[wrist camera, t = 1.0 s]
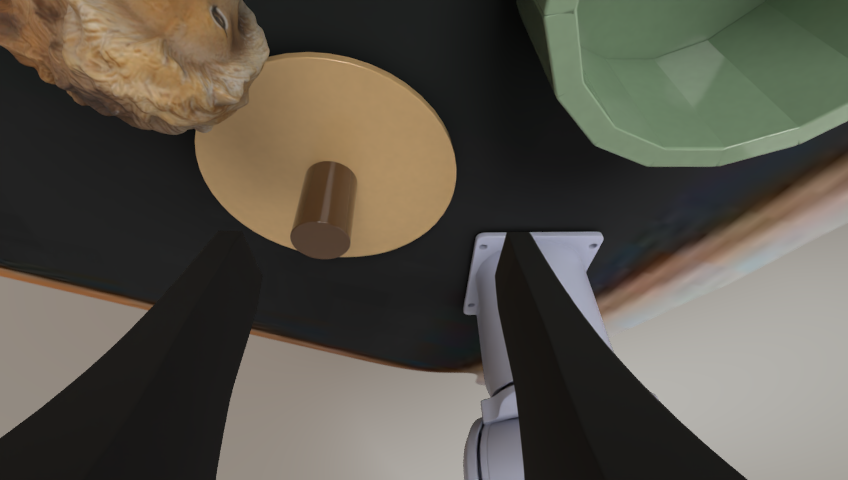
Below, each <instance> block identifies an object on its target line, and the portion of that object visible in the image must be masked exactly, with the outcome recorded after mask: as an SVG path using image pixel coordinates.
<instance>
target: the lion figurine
mask: <svg viewBox="0 0 848 480" xmlns="http://www.w3.org/2000/svg"><path fill="white" fill-rule="evenodd" d="M0 45H1V46H3V47H4V48H6V49H7V50H9V51H10V52H11V53H12V54H13V55H14V57H15V58H16V59H17V60H18V61H19V62H20V63H22V64H24V65H26V66H31V67H34V68H35V69H36V70H37V71H38V73H39V76H40V78H41V79H42V80H43V81H45V82H47V83H51V84H56V85H57V86H58V87H59V88H61V89H63V90H66V91H67V93H68V94H69V95H70V96H72V97H73V99H74V101H75V102H77V103H78V104H80V105H82V106H83V105H90V106H91V107H92V108H93V109H95V110H96V111H97V112H99V113H100V114H102V115H105V116H113V115H114V116H116V117H118V118H120V119H122V120H123V121H125V122H127V123H128V124H130V125H131V126H134V127H137V128H140V129H144V130H154V131H157V132H160V133H165V134H170V135H178V134H181V133H184V132H185V131H187V130H188V129H195V130H197V131H199V132H201V133H208V132H209V131H211V130H212V128H213V126H214V125H217V124H219V123H221V122H222V121H224V120H225V119H227V118H229V117H230V116H232V115H233V114H234V113H236V111H237V110H238V109H240V108H242V107H244V106H245V105H247V104H248V103H249V88H250V86H251V84H252V83H253V81H254V80H255V79H256V78H257V77H258V76H259V74H260V73H261V71H262V69H263V67H264V64H265V62H266V60H267V59H268V57H269V52H270V50H269V48H268V45H267V41H266V38H265V35H264V32H263V30H262V28H261V27H260V26H259V25H257V22H256V17H255V15H254V14H253V12H252V11H251V10H250V9H249V8H248V7H247V6H246V5H245V3H244V2H243V0H0Z"/></svg>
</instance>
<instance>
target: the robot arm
mask: <svg viewBox="0 0 848 480" xmlns="http://www.w3.org/2000/svg"><path fill="white" fill-rule="evenodd" d="M603 239H604V238H603V236H602V234H601V233H600V232H484V233H480V234H478V235H477V236H476V238H475V244H474V249H473V255H472V261H471V267H470V272H469V278H468V284H467V289H466V295H465V301H464V306H463V311H464V313H465V314H467V315H477V323H478V331H479V339H480V347H481V355H482V363H483V371H484V379H485V384H486V388H487V390H488V393H489V395H490V396H491V398H488V399H485V400H482V401H481V409H482V418H479V419H477V420H476V421H475V422H474V423H473V425H472V427H471V429H470V432H469V435H468V438H467V441H466V444H465V449H464V460H463V461H464V462H463V463H464V464H463V467H464V479H465V480H747V479H746V478H745V477H744V476H742V475H741V474H740V473H739V472H738V471H736V470H735V469H734V468H733V467H732V466H730V465H729V464H728V463H727V462H725V461H724V460H723V459H722V458H721V457H720V456H718V455H717V454H716V453H715V452H714V451H712V450H711V449H710V448H709V447H708V446H707V445H706V444H704V443H703V442H702V441H701V440H700V439H699V438H698V437H697V436H696V435H695V434H693V433H692V432H691V431H690V430H689V429H688V428H687V427H686V426H684V425H683V424H682V423H681V422H680V421H679V420H678V419H677V418H676V417H675V416H674V415H673V414H672V413H671V412H670V411H669V410H668V409H667V408H666V407H665V406H664V405H663V404H662V403H661V402H660V401H659V400H658V398H657V396H656V395H655V394H653V393H651V392H650V391H649V390H648V389H646V388H645V387H644V386H643V385H642V383H641V382H640V381H639V380H638V379H637V378H636V377H635V376H634V375H633V374H632V373H631V372H630V371H629V369H628V368H627V367H626V366H625V365H624V364H623V363H622V362H621V361H620V360H619V358H618V357H617V356H616V355H615V354H614V352H613V349H612V346H611V343H610V341H609V338H608V335H607V332H606V329H605V326H604V323H603V320H602V317H601V315H600V312H599V309H598V306H597V303H596V300H595V297H594V294H593V291H592V289H591V286H590V283H589V280H588V277H587V274H586V271H587V269H588V267H589V265H590V263H591V262H592V260H593V258H594V256H595V254H596V253H597V251H598V249H599V247H600V245H601V243H602V242H603ZM483 244H484V245H483ZM261 281H262V274H261V272H260V270H259V267H258V265H257V263H256V261H255V259H254V257H253V255H252V252H251V250H250V248H249V246H248V244H247V242H246V240H245V237H244V235H243V233H242V231H218V232H217V233H216V234H215V235H214V237H213V238H212V239H211V240H210V241H209V242H208V244H207V245H206V246H205V247H204V248H203V250H202V251H201V252H200V253H199V254H198V255H197V257H196V258H195V259H194V260H193V261H192V263H191V264H190V265H189V266H188V267H187V268H186V270H185V271H184V272H183V273H182V274H181V275H180V277H179V278H178V279H177V280H176V281H175V282H174V283H173V285H172V286H171V287H170V288H169V289H168V290H167V291H166V292H165V294H164V295H163V296H162V297H161V298H160V299H159V300H158V301H157V302H156V303H155V305H154V306H153V307H152V308H151V309H150V310H149V311H148V312H147V313H146V314H145V315H144V316H143V317H142V318H141V319H140V320H139V321H138V322H137V323H136V324H135V325H134V326H133V327H132V329H130V331H128V332H127V333H126V334H125V335H124V336H123V337H122V338H121V339H120V340H119V341H118V342H117V343H116V344H115V345H114V346H113V347H112V348H111V349H110V350H109V351H108V352H107V353H106V354H104V355H103V356H102V357H101V358H100V359H99V360H98V361H97V362H95V363H94V364H93V365H92V366H91V367H90V368H89V369H88V370H86V371H85V372H84V373H83V374H82V375H81V376H79V377H78V378H77V379H76V380H75V381H73V382H72V383H71V384H70V385H69V386H67V387H66V388H65V389H64V390H63V391H61V392H60V393H59V394H58V395H56V396H55V397H54V398H53V399H51V400H50V401H49V402H48V403H46V404H45V405H44V406H43V407H42V408H40V409H39V410H38V411H36V412H35V413H34V414H32V415H31V416H30V417H28V418H27V419H26V420H24V421H23V422H22V423H20V424H19V425H18V426H16V427H15V428H14V429H12V430H11V431H10V432H8V433H7V434H5V435H4V436H3V437H1V438H0V480H216V474H217V467H218V461H219V456H220V450H221V444H222V438H223V433H224V427H225V422H226V417H227V412H228V407H229V402H230V398H231V394H232V389H233V386H234V383H235V379H236V376H237V373H238V369H239V366H240V363H241V360H242V357H243V353H244V350H245V347H246V343H247V340H248V337H249V334H250V331H251V327H252V324H253V321H254V317H255V314H256V310H257V305H258V300H259V294H260V288H261Z"/></svg>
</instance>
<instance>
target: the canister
mask: <svg viewBox="0 0 848 480" xmlns="http://www.w3.org/2000/svg"><path fill="white" fill-rule="evenodd" d="M516 2H517V7H518V11H519V14H520V16H521V18H522V21H523V23H524V25H525V28H526V30H527V32H528V34H529V37H530V39H531V41H532V44H533V46H534V48H535V50H536V53H537V55H538V57H539V60H540V62H541V64H542V66H543V69H544V71H545V73H546V76H547V78H548V80H549V83H550V85H551V87H552V89H553V92H554V94H555V96H556V99H557V100H558V101H559V102H560V104H561V105H562V106H563V107H564V109H565V110H566V111H567V112H568V114H569V115H570V116H571V118H572V119H573V120H574V121H575V123H576V124H577V125H578V126H579V128H580V129H581V130H582V131H583V133H584V134H585V135H586V136H587V138H588V139H589V140H590V142H591V143H592V144H594V146H596V147H599V148H601V149H604V150H606V151H609V152H611V153H614V154H616V155H619V156H621V157H624V158H626V159H629V160H631V161H634V162H636V163H639V164H641V165H644V166H646V167H649V166H650V167H715V166H722V165H726V164H729V163H733V162H737V161H741V160H744V159H748V158H752V157H755V156H759V155H763V154H767V153H770V152H774V151H778V150H781V149H785V148H789V147H792V146H796V145H797V144H801V143H803V142H805V141H808V140H810V139H812V138H814V137H816V136H818V135H820V134H822V133H824V132H826V131H828V130H830V129H832V128H834V127H836V126H838V125H840V124H842V123H844V122H847V121H848V0H516Z"/></svg>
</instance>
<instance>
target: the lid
mask: <svg viewBox="0 0 848 480" xmlns="http://www.w3.org/2000/svg"><path fill="white" fill-rule="evenodd" d="M195 151H196V157H197V161H198V165H199V169H200V171H201V173H202V176H203V178H204V180H205V182H206V184H207V185H208V187H209V189H210V190H211V192H212V194H213V195H214V196H215V197H216V199H217V200H218V201H219V202H220V204H221V205H222V206H223V207H224V208H225V209H226V210H227V211H228V212H229V213H230V214H231V215H232V216H234V217H235V218H236V219H237V220H238V221H240V222H241V223H242V224H244V225H245V226H247V227H248V228H250V229H251V230H253V231H254V232H256V233H258V234H259V235H261V236H263V237H265V238H267V239H269V240H271V241H273V242H276V243H278V244H280V245H283V246H286V247H289V248H291V249H295V250H298V251H299V252H301V253H302V254H304V255H306V256H309V257H312V258H316V259H333V258H337V257H361V256H368V255H375V254H379V253H384V252H387V251H391V250H394V249H397V248H399V247H401V246H404V245H406V244H408V243H410V242H412V241H414V240H415V239H417V238H419V237H420V236H422V235H423V234H424V233H426V232H427V231H428V230H429V229H430V228H431V227H433V226H434V225H435V224H436V223H437V222H438V220H439V219H440V218H441V216H442V215H443V214H444V212H445V211H446V209H447V207H448V205H449V203H450V201H451V198H452V196H453V193H454V189H455V184H456V159H455V153H454V148H453V145H452V142H451V138H450V135H449V133H448V131H447V129H446V127H445V126H444V124H443V122H442V120H441V119H440V117H439V116H438V115H437V113H436V112H435V110H434V109H433V108H432V107H431V106H430V104H429V103H428V102H427V101H426V100H425V99H424V98H423V97H422V96H421V95H420V94H419V93H417V92H416V91H415V90H414V89H412V88H411V87H410V86H409V85H408V84H406V83H405V82H403V81H402V80H400V79H398V78H397V77H395V76H394V75H392V74H390V73H389V72H387V71H384V70H382V69H380V68H378V67H376V66H374V65H372V64H369V63H366V62H363V61H360V60H357V59H354V58H350V57H345V56H340V55H335V54H330V53H317V52H297V53H285V54H280V55H275V56H270V57H268V59H267V60H266V62H265V64H264V67H263V69H262V71H261V73H260V74H259V76H258V77H257V78H256V79H255V80H254V81H253V83H252V84H251V86H250V88H249V103H248V104H247V105H245V106H244V107H242V108H240V109H238V110H237V111H236V113H234V114H233V115H232V116H230V117H229V118H227V119H225V120H224V121H222V122H221V123H219V124H217V125H214V126H213V128H212V130H211V131H209V132H208V133H201V132H199V131H197V130H196V132H195Z"/></svg>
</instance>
